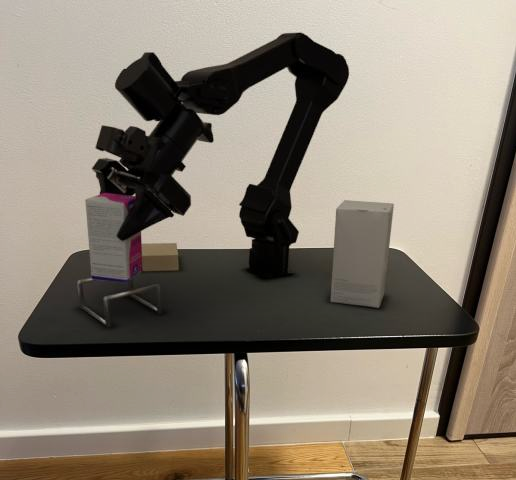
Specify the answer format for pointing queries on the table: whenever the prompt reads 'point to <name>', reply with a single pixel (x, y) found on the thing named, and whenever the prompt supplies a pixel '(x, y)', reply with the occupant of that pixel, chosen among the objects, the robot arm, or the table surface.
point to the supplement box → (112, 239)
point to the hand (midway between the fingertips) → (105, 232)
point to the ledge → (160, 257)
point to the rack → (130, 292)
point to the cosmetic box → (361, 252)
